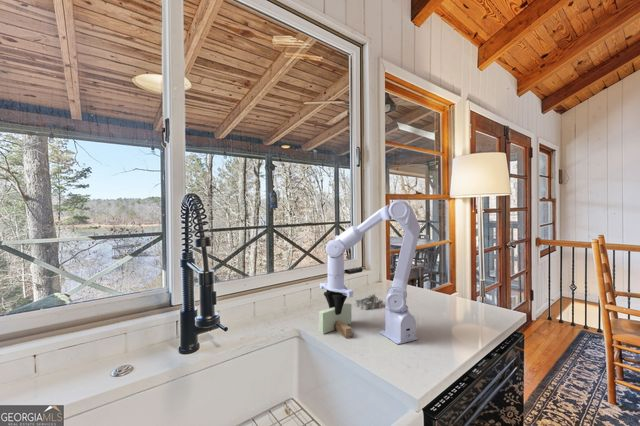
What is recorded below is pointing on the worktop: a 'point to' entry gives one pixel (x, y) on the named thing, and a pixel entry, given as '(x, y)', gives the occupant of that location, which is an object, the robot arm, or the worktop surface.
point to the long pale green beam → (333, 318)
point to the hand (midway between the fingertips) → (335, 313)
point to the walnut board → (343, 329)
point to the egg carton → (369, 302)
